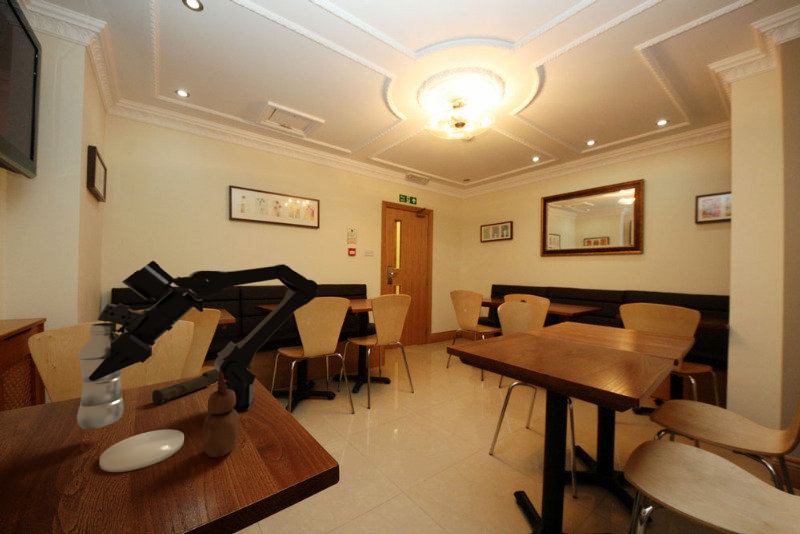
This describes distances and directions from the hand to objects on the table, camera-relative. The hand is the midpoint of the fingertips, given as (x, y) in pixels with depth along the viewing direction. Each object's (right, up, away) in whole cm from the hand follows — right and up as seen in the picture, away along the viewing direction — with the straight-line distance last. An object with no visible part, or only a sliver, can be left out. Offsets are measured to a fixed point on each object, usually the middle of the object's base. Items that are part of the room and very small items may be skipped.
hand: (92, 375), depth 59 cm
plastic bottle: (+1, -10, +1) cm, 10 cm away
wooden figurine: (+27, -14, -3) cm, 30 cm away
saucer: (+12, -13, -3) cm, 18 cm away
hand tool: (+1, -14, +26) cm, 30 cm away
